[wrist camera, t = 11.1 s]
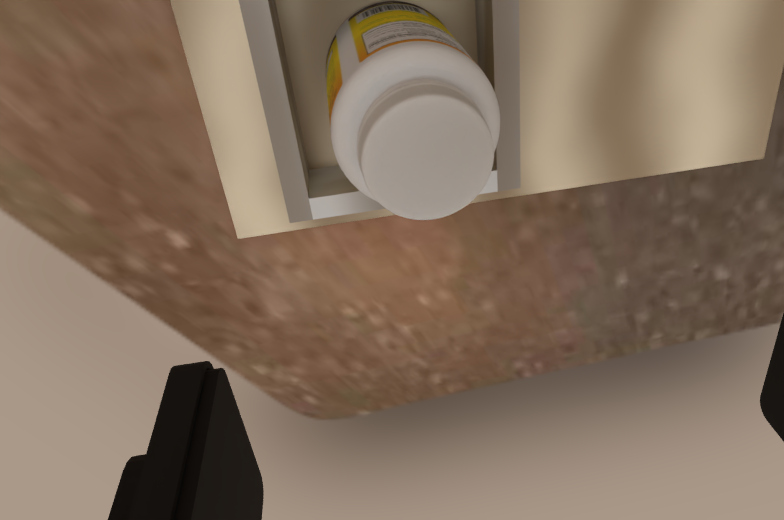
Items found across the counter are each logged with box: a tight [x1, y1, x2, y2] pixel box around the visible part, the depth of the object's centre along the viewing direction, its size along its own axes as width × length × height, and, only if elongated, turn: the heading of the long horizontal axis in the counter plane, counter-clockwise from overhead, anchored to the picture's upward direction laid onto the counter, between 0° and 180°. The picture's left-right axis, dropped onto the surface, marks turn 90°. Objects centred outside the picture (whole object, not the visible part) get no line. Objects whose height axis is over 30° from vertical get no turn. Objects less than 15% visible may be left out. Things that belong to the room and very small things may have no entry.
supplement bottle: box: [325, 1, 500, 220], centre depth 23 cm, size 6×6×10 cm
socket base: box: [170, 0, 784, 239], centre depth 27 cm, size 26×14×4 cm, turn 96°
